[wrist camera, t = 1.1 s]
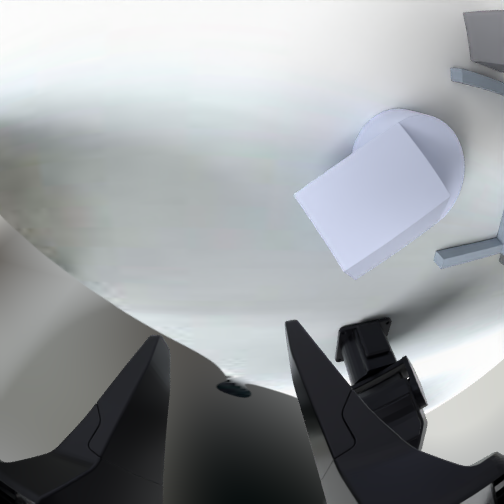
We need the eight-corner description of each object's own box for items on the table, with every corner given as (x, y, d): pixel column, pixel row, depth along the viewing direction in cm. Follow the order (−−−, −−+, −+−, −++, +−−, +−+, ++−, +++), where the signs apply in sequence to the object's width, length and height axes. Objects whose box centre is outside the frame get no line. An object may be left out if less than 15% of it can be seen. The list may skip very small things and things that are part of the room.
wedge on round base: (342, 256, 24) (451, 178, 20) (369, 309, 18) (499, 211, 14) (284, 177, 20) (415, 89, 16) (304, 219, 14) (473, 100, 10)
